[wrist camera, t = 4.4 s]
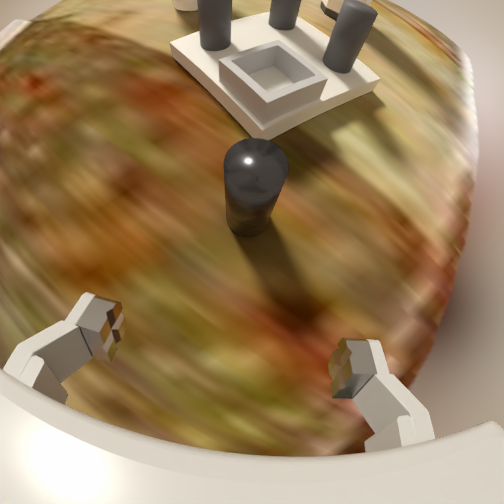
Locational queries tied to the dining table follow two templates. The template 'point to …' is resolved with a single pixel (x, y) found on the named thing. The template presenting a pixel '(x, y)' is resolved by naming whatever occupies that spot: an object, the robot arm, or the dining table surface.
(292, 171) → the dining table surface
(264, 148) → the dark rounded cylinder
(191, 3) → the cup
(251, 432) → the dining table surface
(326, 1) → the wine bottle
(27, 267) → the dining table surface
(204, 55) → the white board with pegs
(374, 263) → the dining table surface
